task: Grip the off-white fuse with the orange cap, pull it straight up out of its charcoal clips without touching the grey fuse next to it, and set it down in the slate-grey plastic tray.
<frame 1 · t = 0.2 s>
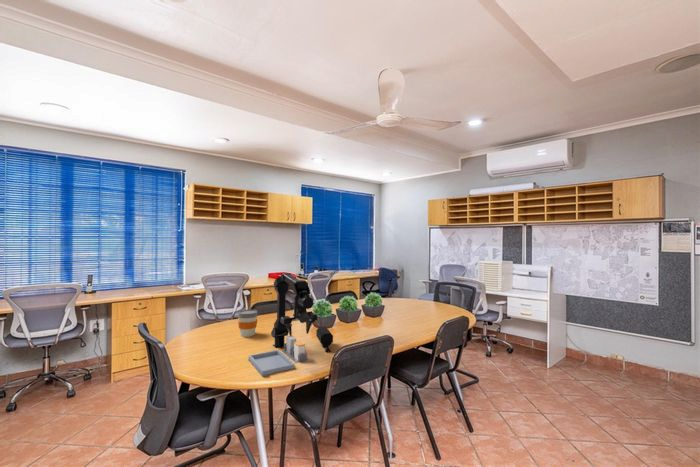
hand: (299, 335, 167), 14 cm above the table, tool pointing down, fingers open, 9 cm apart
clip block: (299, 359, 170), on the table
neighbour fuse: (291, 351, 180), resting on clip block
tray: (270, 364, 163), on the table
security camera: (324, 347, 189), on the table
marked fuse: (299, 358, 170), resting on clip block
reusable coffee cup: (247, 334, 211), on the table
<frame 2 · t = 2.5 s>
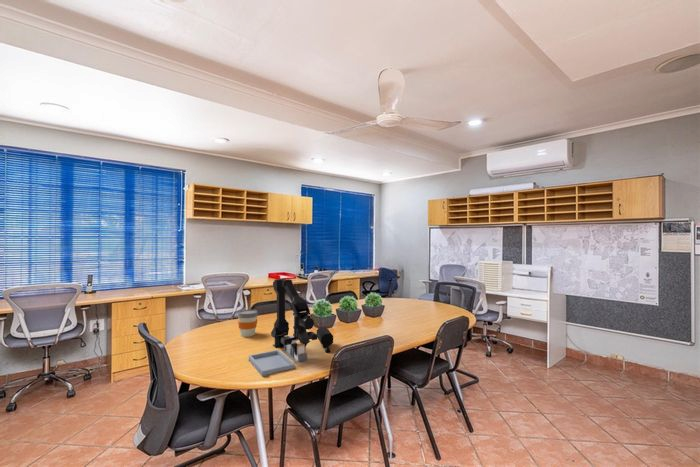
hand: (299, 354, 170), 3 cm above the table, tool pointing down, fingers closed on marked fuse, 3 cm apart
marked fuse: (299, 358, 170), resting on clip block, touching gripper
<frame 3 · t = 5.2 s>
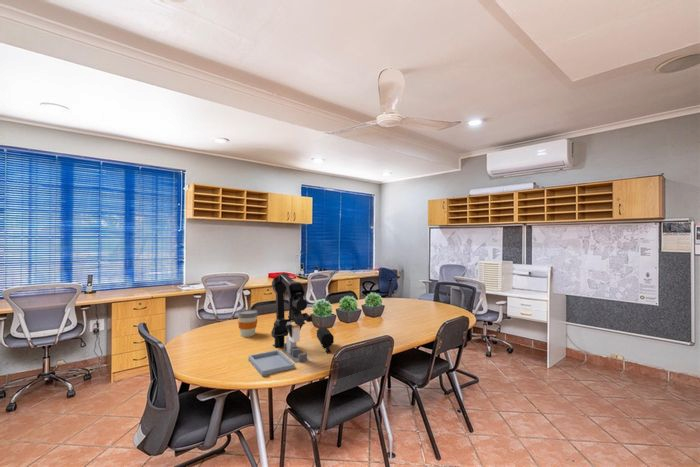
hand: (294, 336, 169), 12 cm above the table, tool pointing down, fingers closed on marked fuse, 3 cm apart
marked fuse: (294, 340, 169), point 10 cm above the table, touching gripper
when the fingers open (4 cm above the table, at t = 8.1 s): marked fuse drops 2 cm, resting on tray.
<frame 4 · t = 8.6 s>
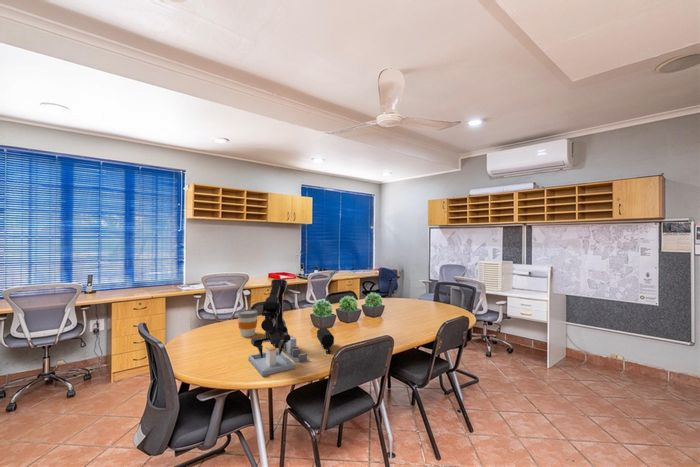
hand: (270, 356, 163), 4 cm above the table, tool pointing down, fingers open, 9 cm apart
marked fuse: (270, 363, 163), point 1 cm above the table, touching tray
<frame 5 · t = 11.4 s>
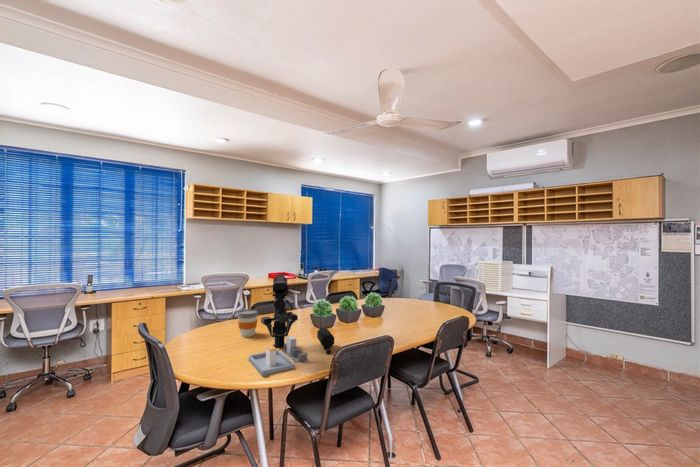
hand: (279, 334, 173), 12 cm above the table, tool pointing down, fingers open, 9 cm apart
at the end: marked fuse inside the target area on the tray (0.0 cm from its centre), point 0.6 cm above the tray's base; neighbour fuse moved 0.1 cm from its start; the gripper is holding nothing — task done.
